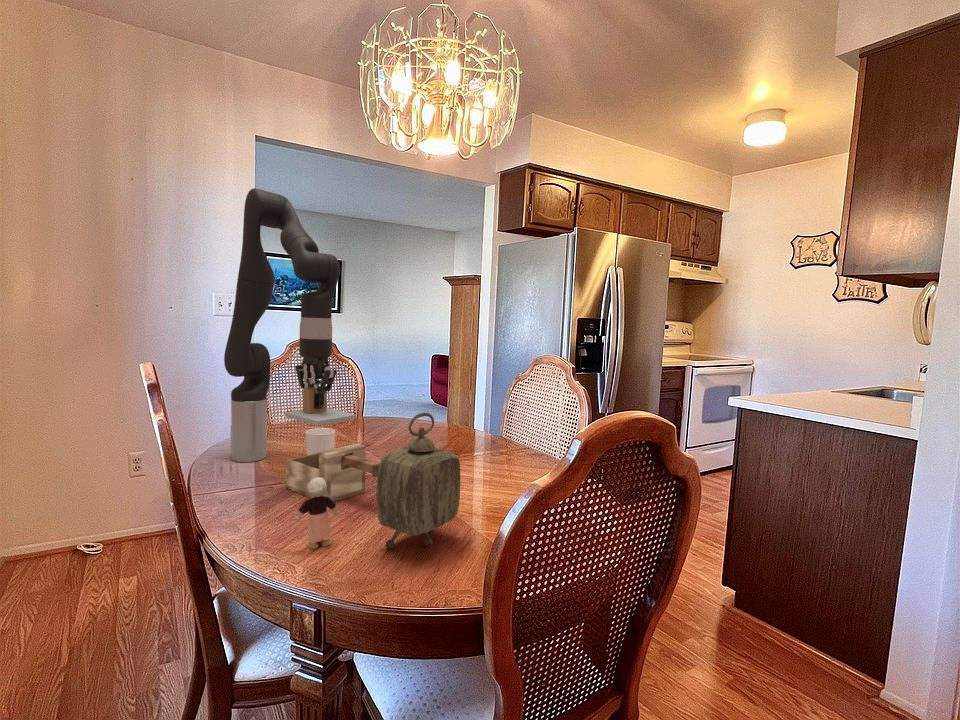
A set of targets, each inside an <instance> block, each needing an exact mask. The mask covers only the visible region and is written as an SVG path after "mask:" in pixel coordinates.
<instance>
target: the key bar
mask: <svg viewBox="0 0 960 720" xmlns="http://www.w3.org/2000/svg"><path fill="white" fill-rule="evenodd" d="M341 457H342V464H343V465H347V466H350V467H353V468H356V469H359V470H363V471H365V473H370V474H371V475H372V477H375V478H376V477H378V470H379V466H380V462H379V461H378V462H377V461H375V460H371V459H367V458H366V459H365V458H361V457H358V456H354V455H351V454H349V455H345V454H344V455H341Z"/></svg>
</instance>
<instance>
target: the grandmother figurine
mask: <svg viewBox="0 0 960 720" xmlns="http://www.w3.org/2000/svg"><path fill="white" fill-rule="evenodd" d="M326 487H327V485H326V482H325V480H324V479H323V478H320V477H319V478H318V477H317V478H314V479H313V480H311V482H310V483H309V485H308V491H309V492H310V493H311V495H312V496H314V498H309V499H306V500H305V501H303V502H302V504H301V505H300V506H299V508H298V512H297V514H296V516H295V517H294V519H295V521H298V522H299V521H301V520H302V517H303V515H304V514H306V513H308V516H307V538H308V541H307V543H306V546H307V547H308V548H309V549H317V548H319V546H320V545H321V546H322V547H326V546H330V545H331V543H332V538H331V536H330V532H331V531H330V522H329V521H330V519H329V514H328V509H327V508H329V509H330V510H331V512H332V514H333V516H335V517H338V516H339V514H340V511H339V510H338V507H337V505H336V502H333V501H332V500H331V499H330V498H329V497H326V496H322V495H323V494H324V492H325V490H326ZM319 542H320V545H319Z"/></svg>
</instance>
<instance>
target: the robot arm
mask: <svg viewBox="0 0 960 720" xmlns="http://www.w3.org/2000/svg"><path fill="white" fill-rule="evenodd" d="M242 227H243V228H242V246H241V255H240V263H239V268H238V275H237V281H236V287H235V288H236V290H235V300H234V307H233V313H232V318H231V325H230V329H229V333H228V337H227V341H226V345H225V349H224V357H223V363H224V367H225V370H226V373H228V375H230V376H231V377H233V378H234V377H235V378H238V377H240V378H241V377H243V380H242V381H241V383H240V384H239V385H237V386H236V387H234V388H233V389H232V390H231V392H230V404H231V405H230V410H231V411H230V412H231V414H230V417H231V420H230V421H231V423H230V458H231V460H232V461H233V462H239V463H251V462H257V461H262V460H264V459H266V458H267V393H268V391H269V388H270V378H271V375H270V374H271V355H270V351H269V350H268V348H267V347H266V345H264V344H262V343H258V342H252V340H253V335H254V330H255V327H256V326H257V324H258V322H259V321H260V319H261V318H262V317H263V315H264V314H265V312H266V311H267V309H268V308H269V306H270V305H271V302H272V299H273V292H274V284H275V274H274V271H273V268H272V266H271V264H270V262H269V259H268V258H267V255H266V253H265V251H264V247H263V244H262V239H261V227H267V228H271V229H278V230H280V231H281V232H280V244H281V246H282V248H283V250H284V251H285V252H286V254H287V255H288V256H289V258H290V259H291V263H292V267H293V268H292V269H293V273H294V275H295V277H296V278H298V279H299V280H300V281H302V282H309V283H317V284H318V283H319V286H318V287H317V289H316V290H315V291H310V292H306V293H304V294H302V296H301V299H300V302H301V303H300V317H301V318H300V323H299V339H298V340H299V343H298V345H299V348H298V350H299V351H298V353H299V354H298V355H299V356H301V357H303V358H302V362H301V364H298V365H295V367H294V368H295V372H296V376H297V380H298V385H299V386H300V387H299V388H301V389H303V388H308V387H314V392H315V394H314V408H315V409H322V408H323V406H324V393H325V392H327V393H328V392H330V391H331V389H332V387H333V384H334V380H335V378H336V376H337V370H336V369H332V368H331V367H330V363H329V358H330V357H331V356H332V355H333V321H332V318H333V317H332V313H333V311H332V310H333V309H332V308H333V299H334V295H335V292H336V287H337V284H338V282H339V278H340V275H341V265H340V262H339V260H338V258H337V257H336V256H335V255H333V254H330V253H322V252H320V251H319V250H320V249H319V247H318V245H317V243H316V242H315V241H314V239H313V238H312V237H311V236H310V234H308V232H307V231H306V230H305V229H304V227H303V225H302V223H301V222H300V219H299V217H298V214H297V213H296V211H295V208H294V207H293V204H292V203H291V201H290V200H289V199H288V198H287V197H286V196H284V195H282V194H280V193H279V194H278V193H275V192H272V191H268V190H263V189H260V188H255V187H253V188H251V189H250V190H249V191H248V193H247V195H246V197H245V201H244V210H243V226H242ZM319 386H320V387H319Z"/></svg>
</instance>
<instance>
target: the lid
mask: <svg viewBox="0 0 960 720" xmlns="http://www.w3.org/2000/svg"><path fill="white" fill-rule="evenodd" d="M319 387H320V385H319ZM314 394H315V392H314V387H308V388H302V410H301V409H300V410H294V411H287V412H285V413H284V416H285V418H289V419H292V420H296V421H300V422H304V423H307V424H310V425H315V426H323V425H327V424H328V425H329V424H333V423H341V422H346V421H351V420H357V414H355V413H350V412H347V411H342V410H339V409H334V408H329V407H328V406H327V405H328V404H327V403H328V401H327V400H328V391H327V392H325V393H324V406H323V408H322V409H315V408H314Z"/></svg>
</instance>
